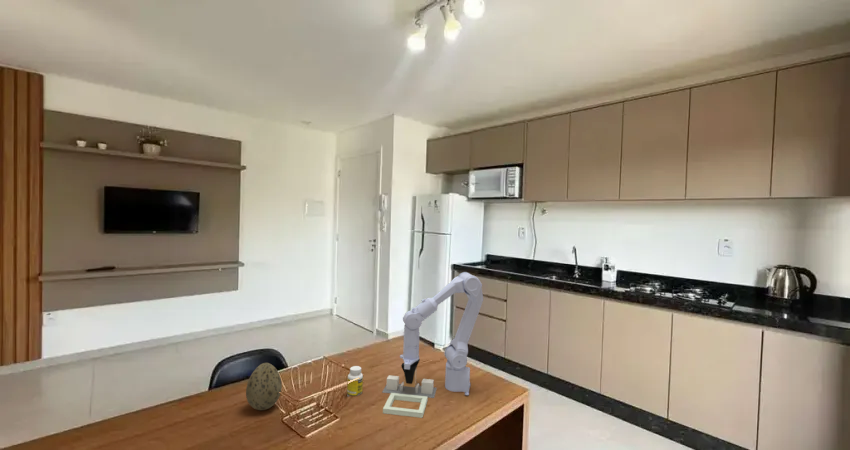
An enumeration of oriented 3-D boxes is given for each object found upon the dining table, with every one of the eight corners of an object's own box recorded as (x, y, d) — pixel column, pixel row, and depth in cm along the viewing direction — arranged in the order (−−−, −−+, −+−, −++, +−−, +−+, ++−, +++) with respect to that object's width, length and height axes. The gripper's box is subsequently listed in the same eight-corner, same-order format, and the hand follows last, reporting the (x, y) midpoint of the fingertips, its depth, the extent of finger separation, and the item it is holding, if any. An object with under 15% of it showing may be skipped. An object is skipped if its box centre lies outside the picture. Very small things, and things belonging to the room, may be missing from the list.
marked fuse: (416, 383, 137) (416, 367, 137) (414, 387, 134) (415, 370, 134) (405, 382, 138) (406, 366, 138) (403, 386, 135) (404, 369, 135)
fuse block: (436, 390, 139) (437, 377, 139) (434, 400, 131) (434, 386, 131) (387, 385, 142) (387, 372, 142) (381, 395, 134) (382, 381, 134)
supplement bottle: (359, 399, 130) (359, 372, 130) (344, 397, 131) (345, 370, 131) (364, 392, 135) (365, 366, 135) (350, 390, 136) (351, 364, 136)
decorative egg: (285, 410, 121) (286, 365, 121) (249, 420, 115) (250, 372, 114) (276, 397, 130) (276, 354, 130) (242, 406, 123) (243, 361, 123)
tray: (427, 403, 129) (427, 396, 129) (422, 420, 118) (422, 413, 118) (390, 399, 131) (391, 392, 131) (382, 416, 120) (382, 408, 120)
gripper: (404, 337, 144) (403, 371, 144) (396, 350, 129) (395, 388, 130) (422, 338, 143) (421, 373, 143) (416, 352, 128) (414, 391, 129)
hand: (410, 381), depth 136 cm, fingers closed on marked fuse, 3 cm apart
